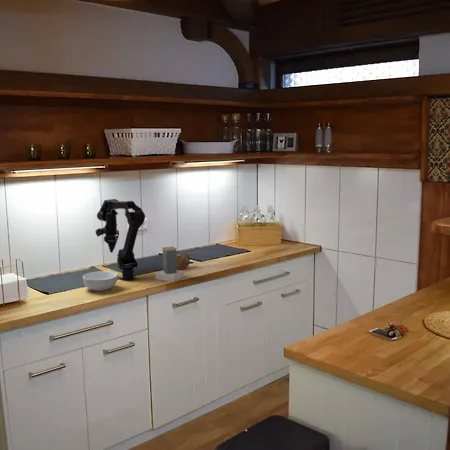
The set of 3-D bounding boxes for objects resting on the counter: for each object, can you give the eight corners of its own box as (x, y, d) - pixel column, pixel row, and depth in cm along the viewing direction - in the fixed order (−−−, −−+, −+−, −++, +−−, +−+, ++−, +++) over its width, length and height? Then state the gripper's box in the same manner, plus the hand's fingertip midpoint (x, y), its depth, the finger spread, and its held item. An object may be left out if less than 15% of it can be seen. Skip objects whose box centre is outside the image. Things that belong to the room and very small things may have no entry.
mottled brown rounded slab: (172, 272, 304) (172, 257, 303) (168, 271, 306) (168, 256, 305) (190, 267, 316) (190, 252, 315) (186, 266, 318) (185, 252, 317)
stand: (174, 281, 285) (173, 275, 284) (155, 279, 289) (155, 273, 289) (184, 276, 295) (184, 271, 294) (166, 274, 299) (166, 269, 299)
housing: (166, 274, 288) (166, 249, 286) (162, 271, 293) (162, 247, 291) (177, 272, 290) (176, 248, 288) (173, 270, 295) (172, 246, 293)
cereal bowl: (76, 289, 272) (75, 275, 271) (104, 282, 284) (104, 269, 283) (96, 296, 260) (95, 281, 259) (124, 288, 272) (124, 274, 271)
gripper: (98, 220, 305) (99, 247, 308) (93, 225, 287) (94, 254, 289) (118, 219, 306) (119, 247, 309) (115, 225, 288) (116, 254, 290)
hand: (112, 250), depth 299 cm, fingers open, 9 cm apart
